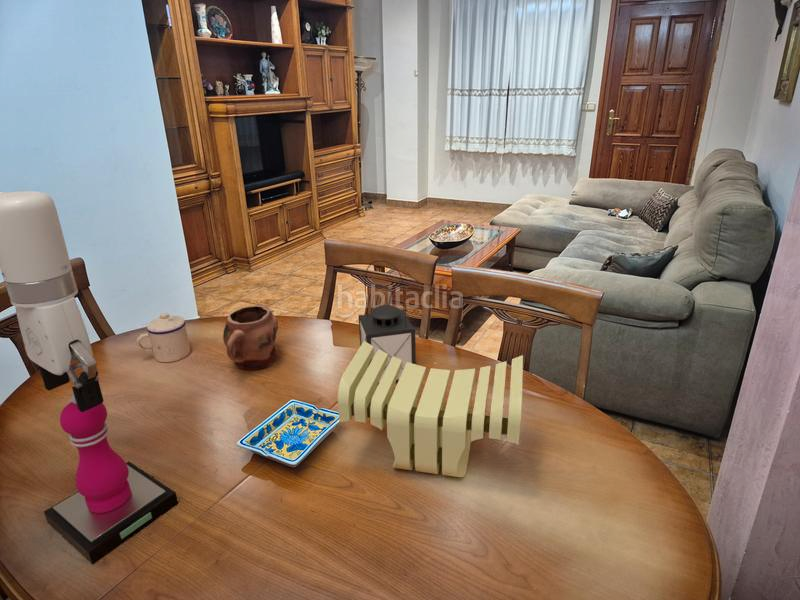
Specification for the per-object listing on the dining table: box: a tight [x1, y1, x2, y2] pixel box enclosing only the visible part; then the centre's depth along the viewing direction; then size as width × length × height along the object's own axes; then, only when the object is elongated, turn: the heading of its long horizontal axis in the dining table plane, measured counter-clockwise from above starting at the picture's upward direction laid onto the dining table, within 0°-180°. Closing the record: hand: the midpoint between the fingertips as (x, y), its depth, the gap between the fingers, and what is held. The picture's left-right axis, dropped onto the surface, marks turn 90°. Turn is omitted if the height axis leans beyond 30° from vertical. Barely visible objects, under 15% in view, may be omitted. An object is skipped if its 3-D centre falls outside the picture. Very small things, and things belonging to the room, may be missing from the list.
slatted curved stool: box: [337, 341, 524, 478], centre depth 92 cm, size 30×16×18 cm, turn 77°
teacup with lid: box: [136, 312, 191, 363], centre depth 130 cm, size 12×9×12 cm
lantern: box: [357, 260, 417, 387], centre depth 117 cm, size 11×11×28 cm
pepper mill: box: [59, 393, 131, 513], centre depth 78 cm, size 7×7×20 cm
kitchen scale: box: [43, 461, 179, 565], centre depth 83 cm, size 14×14×3 cm
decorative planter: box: [222, 304, 279, 371], centre depth 124 cm, size 20×12×14 cm, turn 174°
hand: (74, 396), depth 75 cm, fingers open, 9 cm apart
